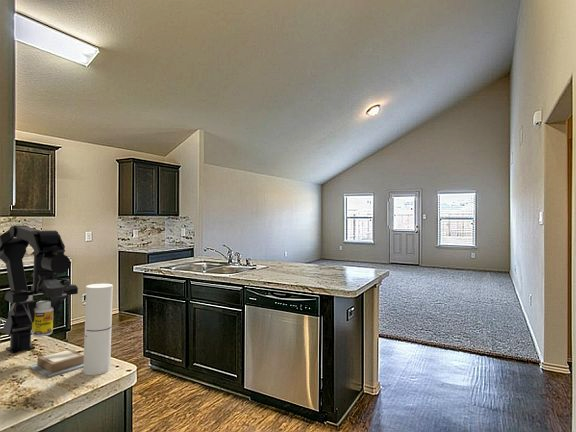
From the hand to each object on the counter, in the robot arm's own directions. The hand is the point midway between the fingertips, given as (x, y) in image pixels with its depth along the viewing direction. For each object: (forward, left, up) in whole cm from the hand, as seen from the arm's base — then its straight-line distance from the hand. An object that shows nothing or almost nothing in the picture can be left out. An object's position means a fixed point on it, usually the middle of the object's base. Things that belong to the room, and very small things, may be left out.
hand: (42, 320), depth 120 cm
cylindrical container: (+21, +6, -13) cm, 25 cm away
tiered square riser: (+10, +1, -12) cm, 16 cm away
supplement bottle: (0, 0, -5) cm, 5 cm away
